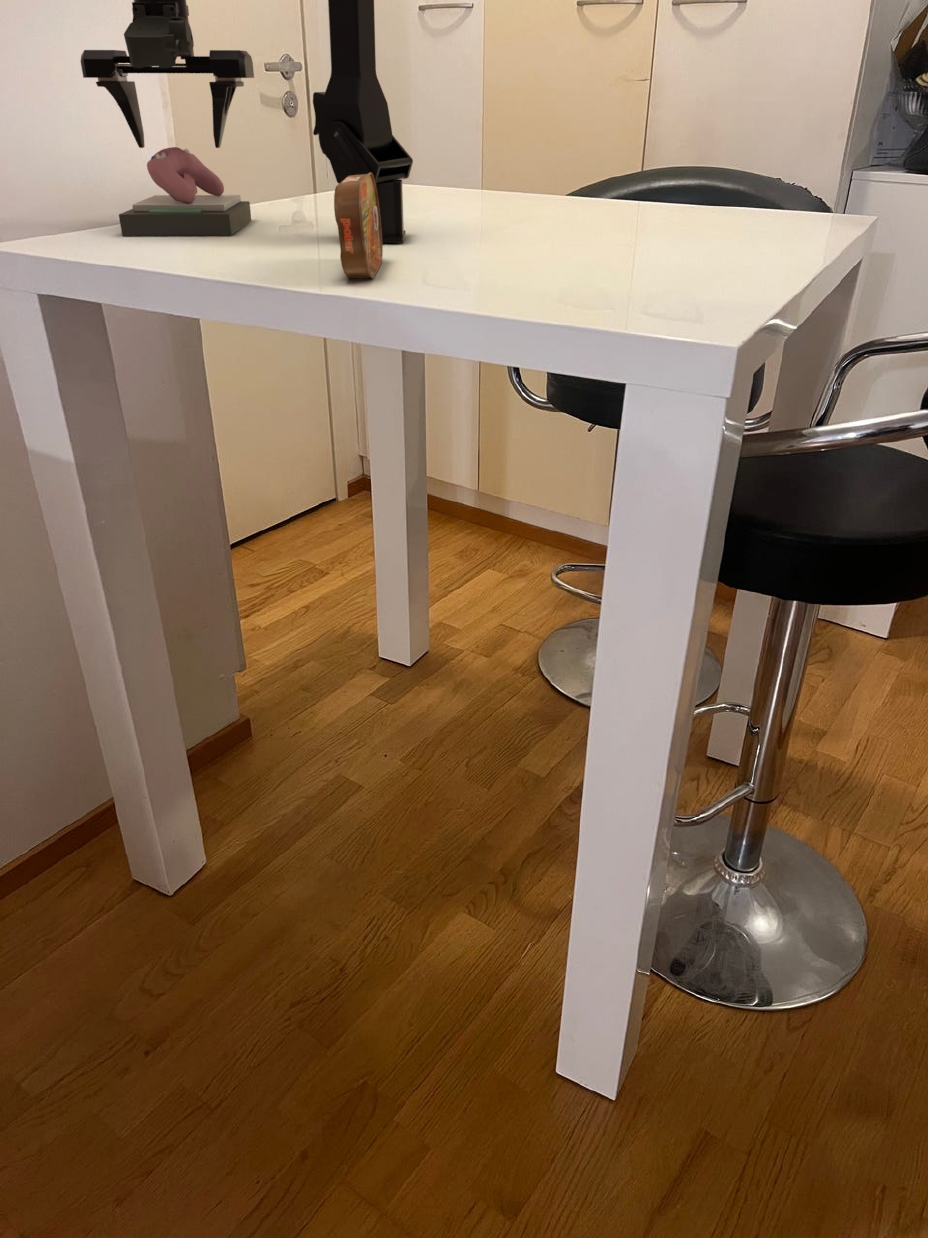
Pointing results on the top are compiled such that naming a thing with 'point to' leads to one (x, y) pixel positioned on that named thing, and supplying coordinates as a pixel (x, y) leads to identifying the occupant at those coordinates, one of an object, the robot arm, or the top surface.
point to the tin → (359, 225)
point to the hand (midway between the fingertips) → (179, 147)
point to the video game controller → (182, 174)
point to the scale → (186, 216)
